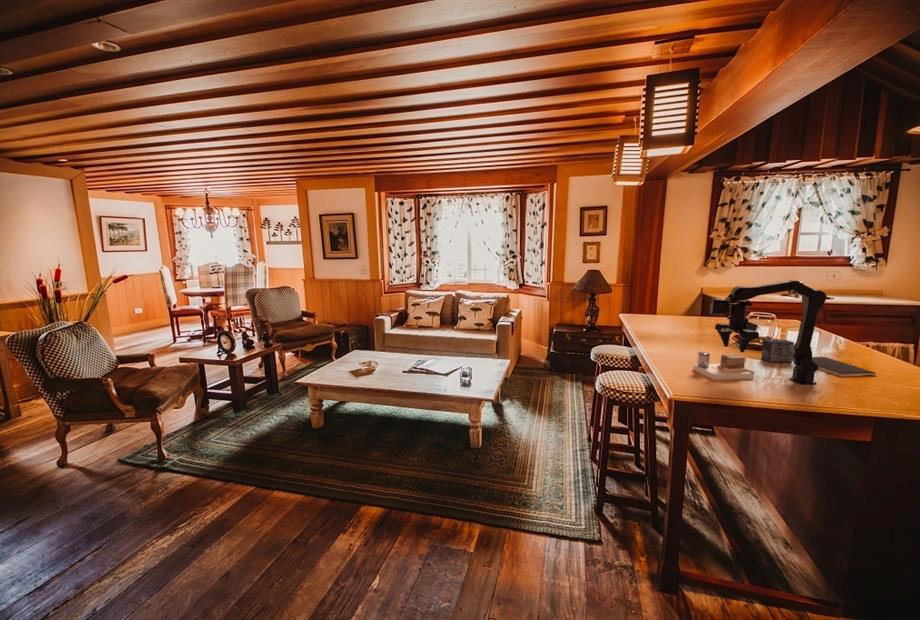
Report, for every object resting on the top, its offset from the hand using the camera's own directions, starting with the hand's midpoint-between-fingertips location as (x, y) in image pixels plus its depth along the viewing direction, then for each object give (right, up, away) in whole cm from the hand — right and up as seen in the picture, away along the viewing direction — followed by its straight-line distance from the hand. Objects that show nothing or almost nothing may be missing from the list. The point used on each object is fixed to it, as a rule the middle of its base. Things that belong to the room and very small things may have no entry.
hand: (733, 349), depth 172 cm
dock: (-3, -12, +3) cm, 12 cm away
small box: (+36, -8, +21) cm, 42 cm away
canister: (-10, -9, +6) cm, 15 cm away
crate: (0, -9, +2) cm, 9 cm away
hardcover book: (+53, -10, +9) cm, 54 cm away
